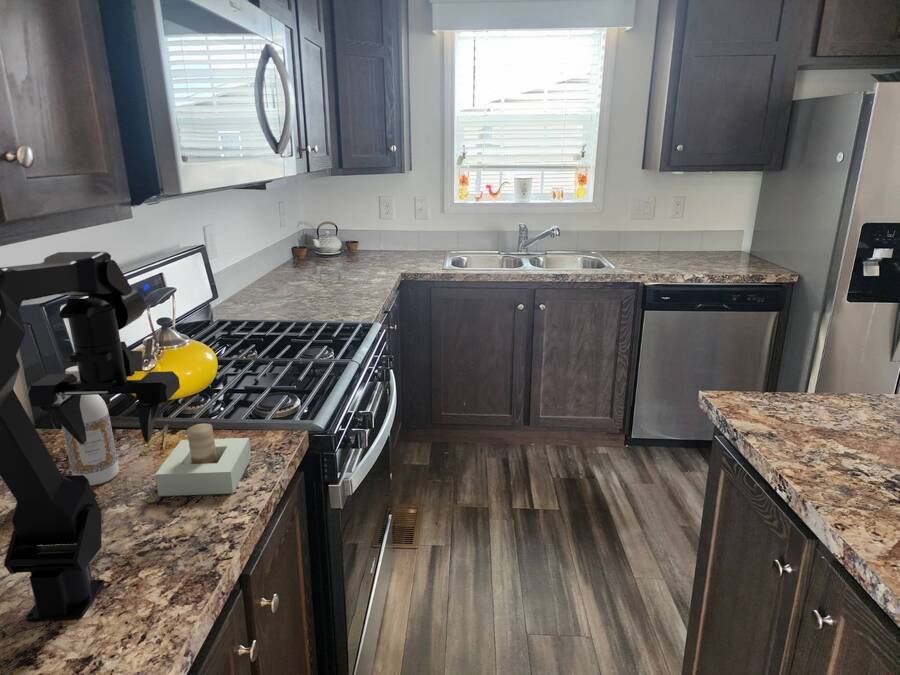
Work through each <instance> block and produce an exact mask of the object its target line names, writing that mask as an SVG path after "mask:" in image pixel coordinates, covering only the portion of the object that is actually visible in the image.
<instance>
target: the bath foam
mask: <svg viewBox="0 0 900 675" xmlns="http://www.w3.org/2000/svg"><path fill="white" fill-rule="evenodd" d="M64 374H73V375H75V376H76V377H77V381H80V376H79V371H78V366H77V365H74V366H70V367H68V368H66V369H65V372H64ZM80 409H81V414H82V418H83V422H84V426H85V431H86V442H85V443H84V444H80V443H79V442H78V441H77V440H76V439H75V438H74V437H73V436H72V435H71V434H70V433H69V432H68V431H67V430H66V429H65V428H64V427H63V426H62V425H61V429H62V433H63V438H64V443H65V447H66V452H67V457H68V462H69V466H70V470H71V474H72V475H84V476H85V477H86V478H87V479H88V481H89V484H90V487H92V486H97V485H101V484H104V483H107V482H108V481H110V480H112V479H114V478H115V477H116V476H117V475H118V474H119V471H120V467H119V462H118V456H117V455H118V454H117V449H116V445H115V438H114V434H113V429H112V424H111V418H110V413H109V410H108V406H107V404H106V402H105V400H104V399H103V398H102V396H101V395H100V394H98V395H81V399H80Z"/></svg>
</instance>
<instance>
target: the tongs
mask: <svg viewBox="0 0 900 675" xmlns="http://www.w3.org/2000/svg"><path fill="white" fill-rule="evenodd" d="M168 427H170V424H169V425H168V424H167V425H166V424H165V425H164V427H163V429H162V430H161V431H160V432H159V433H158V434H156V435H155V436H153V437H151V439H150V441H149V442H147V444H146V446H145V448H144V449H143V450H141V451H140V455H141V456H149V452H148V450H149V449H150V448H151V447H152V445H154V444H155V442H156V441H157V440H158V439H160V437H162V435H163V442H162V449H161V450H158V451H157V452H155V455H156V456H157V455H160V454H164V453H165V451H166V448H165V447H166V443H167V440H166V438H167V435H168V434H167V432H168V430H169V428H168Z"/></svg>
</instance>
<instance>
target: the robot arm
mask: <svg viewBox="0 0 900 675" xmlns="http://www.w3.org/2000/svg"><path fill="white" fill-rule="evenodd" d="M111 258H112V255H111V254H110V253H108V252H107V251H59V252H56V253H52V254H51V255H49V256H46V257H45V258H44V259H43V262H40V263H32V264H23V265H21V264H20V265H14V266H10V265H9V266H3V267H2V266H0V477H1V479H2V480H3V482H4V484H5V485H6V487H7V489H8V490H9V491H10V492H11V494H12V496H13V498H14V499H15V501H16V503H15V507H14V509H13V511H12V514H11V518H10V521H11V523H12V526H13V530H12V534H11V537H10V541H9V544H8V547H7V552H6V555H5V559H4V561H3V562H4V563H3V565H4V567H5V568H6V569H7V571H8V572H9V574H10V575H15V574H17V573H19V574H20V573H30V576H29V577H28V578H29V581H30V586H31V591H32V594H33V598H34V602H35V604H34V606H33V607H32V608H31V609H30V611H29V612H28V613H27V614H26V615H25V619H26V622H40V621H58V620H59V621H60V620H62V621H63V620H77V619H81V618H82V617H83V616H84V614H85V613H86V611H87V610H88V609H89V607H90V606H91V605H92V603H93V602H94V600H95V599H96V597H97V596H98V595H99V593H100V591H101V590H102V588H103V587H104V586H105V584H106V583H105V580H104V579H92V573H91V568H90V563H91V561H92V560H93V559H94V557H96V555H97V554H98V552H100V550H101V548H102V509H101V507H100V505H99V504H98V501H97V500H96V497H97V495H98V494H97V493H96V492H94V491H93V489H92V486H90V484H89V481H88V479H87V478H86V477H85V476H84V475H62V473H61V471H60V469H59V468H58V465H56V464H57V463H55V460H54V459H53V457H52V456H51V454H50V452H49V450H48V448H47V447H46V445H45V443H44V442H43V439H42V438H41V436H40V434H39V432H38V431H37V429H36V427H35V425H34V423H33V422H32V420H31V418H30V417H29V415H28V412H27V411H26V410H25V408H24V406H23V404H22V402H21V401H20V399H19V398H18V395H17V393H16V391H15V389H14V388H15V385H16V384H15V383H16V381H17V378H18V374H19V371H20V367H21V365H20V362H19V360H18V357H17V354H18V353H19V349H20V347H21V345H22V343H23V340H24V338H25V335H26V328H25V325H24V322H23V319H22V316H21V312H20V308H21V306H22V303H23V302H24V301H29V300H35V299H36V300H37V299H40V298H45V297H50V296H54V295H55V296H56V295H61V296H62V295H65V296H66V295H67V296H69V297H78V298H68V299H67V301H66V304H65V305H64V306H63V307H62V308H61V310H60V312H59V314H58V316H59V318H60V319H67V320H68V324H69V325H68V326H69V330H70V335H71V340H72V346H73V350H74V352H72V353H70V354H69V358H70V363H76V366H78V371H79V376H80V381H77V377H76V376H75V375H73V374H66V373H53V374H52V373H48V374H46V375H45V376H44V377H42V378H40V379H39V380H37V381H36V382H34V383H33V384H31V385H30V386H29V387H28V390H27V393H26V396H27V401H28V405H29V406H30V407H39V411H40V412H46V413H48V414H49V415H50V416H51V417H52V418H53V419H55V420H56V421H57V422H58V423H59V424H60V425H61V427H62V426H63V427H64V428H65V429H66V430H67V431H68V432H69V433H70V434H71V435H72V436H73V437H74V438H75V439H76V440H77V441H78V442H79V443H80V444H84V443H85V442H86V431H85V426H84V422H83V418H82V414H81V409H80V399H81V395H123V394H124V395H128V394H129V395H130V394H135V398H136V400H138V401H139V403H137V404H136V405H135V410H136V412H137V417H138V423H139V426H140V431H141V435H142V438H143V440H144V443H149V442H150V440H151V439H152V434H153V430H154V425H155V422H156V417H157V412H158V410H159V408H160V407H161V405H162V404H164V403H166V402H168V401H169V400H170V399H172V397H173V396H174V395H175V394H176V393H177V391H178V390H179V389H180V388H181V385H180V377H179V376H178V375H177V374H176V373H175V372H174V371H149V372H147V374H145V375H144V376H143V377H142V378H140V379H128V377H133V375H135V374H136V373H135V372H143V370H144V369H143V364H144V363H143V361H144V360H143V356H144V355H143V354H144V353H143V350H129V349H128V345H127V343H126V341H121V336H120V330H122V329H123V328H126V327H127V326H128V325H130V324H132V323H133V322H135V321H137V320H138V319H139V318H140V317H142V316H143V314H144V313H145V308H146V302H145V299H144V298H143V296H142V294H141V293H140V292H139V291H138V290H137V289H135V288H133V287H132V286H131V285H130V283H129V280H128V278H126V277H125V274H124V272H123V271H122V269H121V268H120V267H119V266H120V265H118V263H117V262H116V261H115V260H114V259H111ZM79 297H81V298H79ZM83 297H85V298H83Z"/></svg>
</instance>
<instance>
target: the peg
mask: <svg viewBox="0 0 900 675" xmlns="http://www.w3.org/2000/svg"><path fill="white" fill-rule="evenodd" d="M213 429H214V428H213V425H212V424H210V423H198V424H195V425H192V426H191V425H190V427H188V428H187V429H186V434H187V440H188V441H189V447H190V453H191V459H192V464H211V463H218V462H217V455H216V448H215V442H214V439H215V436H214V430H213Z"/></svg>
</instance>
